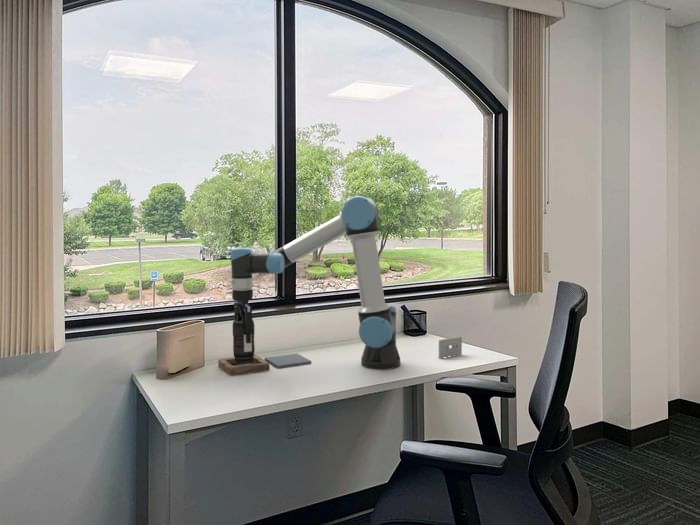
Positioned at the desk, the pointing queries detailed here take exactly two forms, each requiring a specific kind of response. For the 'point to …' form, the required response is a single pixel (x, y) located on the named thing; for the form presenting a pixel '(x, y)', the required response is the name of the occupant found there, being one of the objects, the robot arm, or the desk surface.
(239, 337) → the camera lens
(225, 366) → the brown flat square frame
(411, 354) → the desk surface
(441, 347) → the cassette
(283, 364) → the mat
